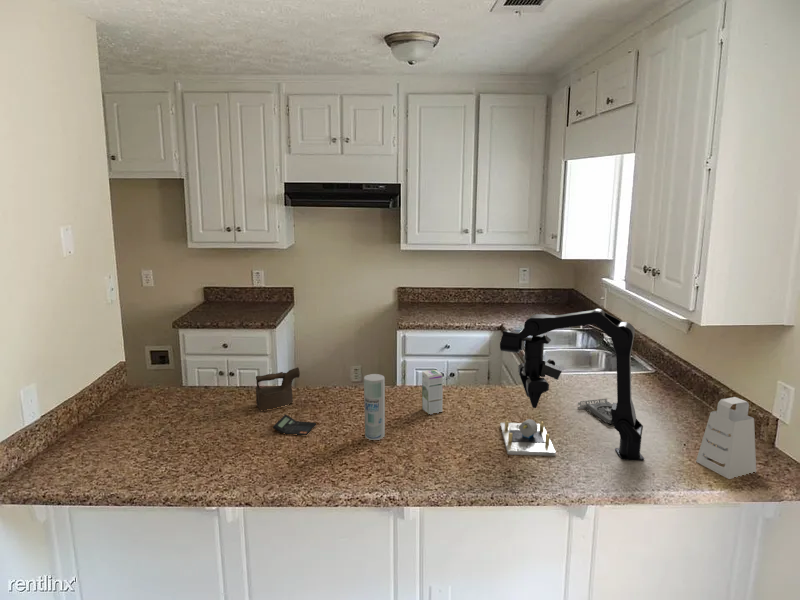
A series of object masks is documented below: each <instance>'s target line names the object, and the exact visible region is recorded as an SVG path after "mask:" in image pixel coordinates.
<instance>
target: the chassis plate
mask: <svg viewBox="0 0 800 600" xmlns="http://www.w3.org/2000/svg"><path fill="white" fill-rule="evenodd" d="M521 423H522V422H510V421H509V420H508V419H506V420H504V422H500V424H499V426H501V427H500V431H501V430H502V431H501V435H502V437H503V441H504V445H505V450H506V453H507V454H506V455H513V456H514V455H518V456H521V455H522V456H546V457H547V456H548V457H550V456H551V457H556V450H555V448H554V445H553V443H552V441H551V439H550V436H551V435H550V433H548V432H547V430H546V427H545V422H544V421H543V420H541V421H540V422H539V423H536V424H537V426H538V430H537V433H536V434H534V435H533V436H532V437H530V438H526V437H523V436H522V433H521V431H520V429H518V428H519V426H517V425H521ZM517 427H518V428H517Z"/></svg>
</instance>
